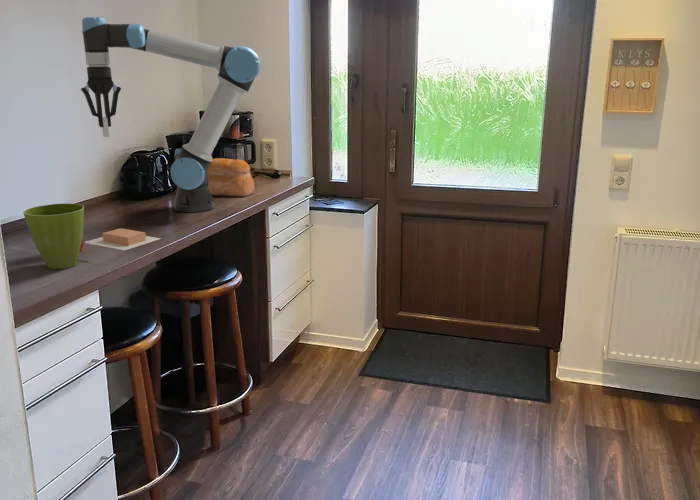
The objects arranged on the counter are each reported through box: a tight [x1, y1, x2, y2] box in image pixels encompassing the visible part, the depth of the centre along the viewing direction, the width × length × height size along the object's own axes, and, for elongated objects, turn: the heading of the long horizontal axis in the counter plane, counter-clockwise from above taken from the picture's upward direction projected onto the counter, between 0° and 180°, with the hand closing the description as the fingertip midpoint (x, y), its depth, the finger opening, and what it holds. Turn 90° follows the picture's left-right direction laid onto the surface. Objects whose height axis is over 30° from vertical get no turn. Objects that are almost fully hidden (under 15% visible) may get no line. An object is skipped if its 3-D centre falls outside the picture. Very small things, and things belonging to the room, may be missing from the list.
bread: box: [208, 157, 256, 198], centre depth 274 cm, size 14×26×15 cm, turn 75°
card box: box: [102, 228, 147, 246], centre depth 200 cm, size 7×3×11 cm
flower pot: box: [23, 203, 85, 270], centre depth 175 cm, size 15×15×16 cm
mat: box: [83, 235, 162, 251], centre depth 201 cm, size 15×18×1 cm
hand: (106, 136), depth 223 cm, fingers closed
